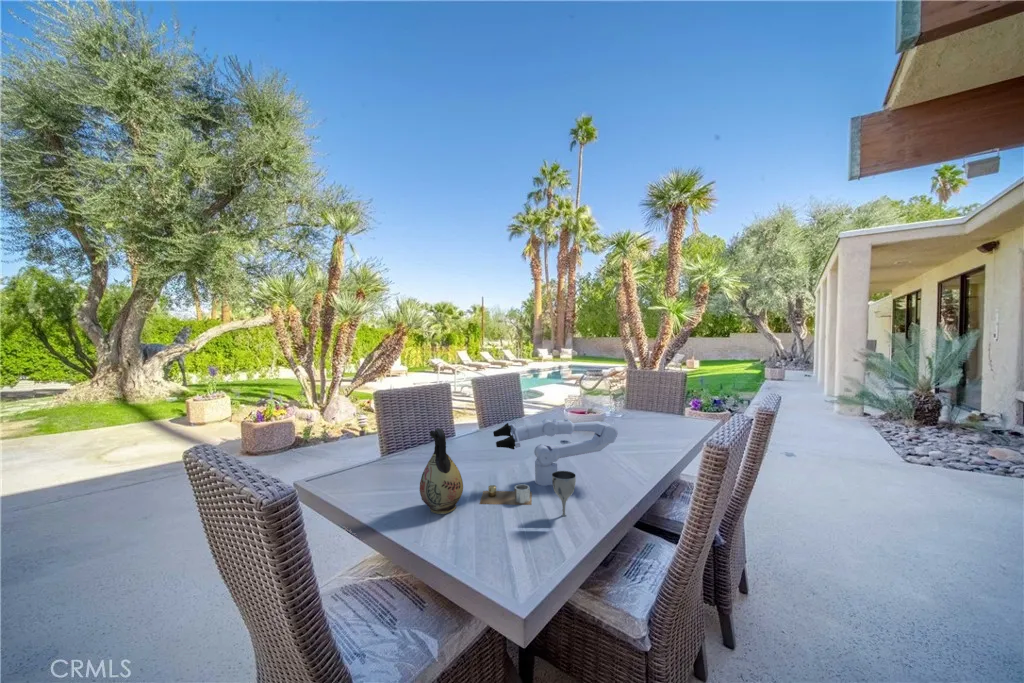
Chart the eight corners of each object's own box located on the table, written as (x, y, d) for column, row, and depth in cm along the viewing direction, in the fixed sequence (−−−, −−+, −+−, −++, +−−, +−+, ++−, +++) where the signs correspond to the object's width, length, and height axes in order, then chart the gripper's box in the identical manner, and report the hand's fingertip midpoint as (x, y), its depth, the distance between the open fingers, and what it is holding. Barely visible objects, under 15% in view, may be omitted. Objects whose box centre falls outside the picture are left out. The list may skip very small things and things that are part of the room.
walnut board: (531, 494, 156) (531, 491, 156) (531, 507, 144) (531, 504, 144) (483, 493, 157) (483, 490, 157) (479, 506, 145) (479, 504, 145)
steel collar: (529, 497, 151) (529, 484, 151) (529, 503, 145) (529, 490, 145) (515, 497, 151) (514, 484, 151) (514, 503, 145) (514, 490, 145)
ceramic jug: (416, 504, 148) (415, 423, 147) (457, 497, 154) (456, 420, 153) (424, 524, 132) (423, 434, 132) (469, 516, 138) (468, 430, 137)
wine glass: (570, 526, 130) (569, 480, 130) (548, 520, 135) (547, 476, 134) (579, 516, 137) (579, 473, 137) (558, 511, 141) (558, 469, 141)
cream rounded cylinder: (496, 494, 154) (496, 485, 154) (495, 497, 151) (495, 488, 151) (488, 494, 154) (488, 485, 154) (488, 497, 151) (487, 488, 151)
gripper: (522, 415, 170) (491, 421, 168) (529, 433, 157) (495, 441, 155) (524, 429, 173) (493, 435, 171) (531, 448, 159) (498, 456, 158)
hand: (494, 439), depth 163 cm, fingers open, 7 cm apart
